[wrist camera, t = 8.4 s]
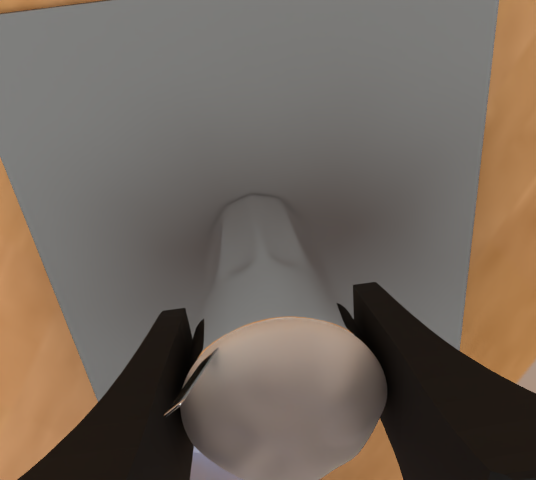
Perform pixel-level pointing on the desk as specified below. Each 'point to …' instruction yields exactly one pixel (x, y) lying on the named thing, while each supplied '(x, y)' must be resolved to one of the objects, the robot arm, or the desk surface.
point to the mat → (243, 147)
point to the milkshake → (275, 354)
